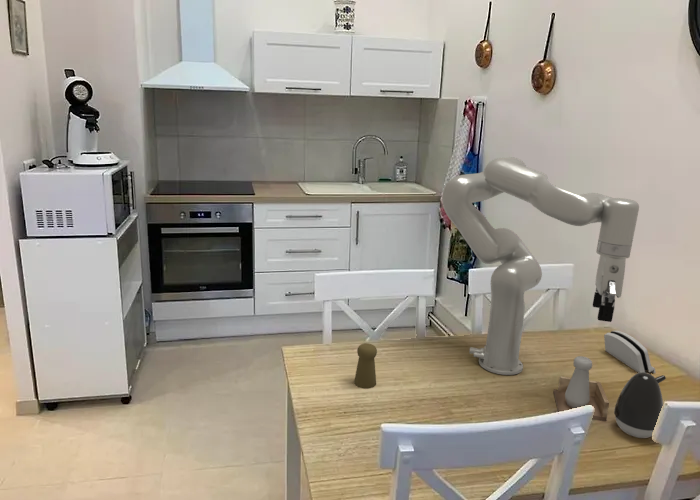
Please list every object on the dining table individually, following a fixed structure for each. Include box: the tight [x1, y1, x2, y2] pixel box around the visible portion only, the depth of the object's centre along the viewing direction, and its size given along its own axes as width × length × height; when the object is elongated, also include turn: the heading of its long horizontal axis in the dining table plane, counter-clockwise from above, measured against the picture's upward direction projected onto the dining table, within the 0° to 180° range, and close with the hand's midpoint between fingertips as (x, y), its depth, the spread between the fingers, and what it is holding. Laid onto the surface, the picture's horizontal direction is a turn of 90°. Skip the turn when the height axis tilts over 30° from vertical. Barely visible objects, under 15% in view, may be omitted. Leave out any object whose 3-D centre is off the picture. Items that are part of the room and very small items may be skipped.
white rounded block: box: [603, 329, 657, 374], centre depth 165 cm, size 17×5×10 cm, turn 12°
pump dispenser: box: [613, 372, 667, 439], centre depth 127 cm, size 10×10×15 cm
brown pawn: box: [353, 342, 378, 390], centre depth 145 cm, size 6×6×11 cm
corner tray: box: [553, 375, 610, 422], centre depth 139 cm, size 11×11×5 cm
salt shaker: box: [565, 355, 593, 408], centre depth 136 cm, size 6×6×13 cm
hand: (601, 313), depth 137 cm, fingers open, 9 cm apart
